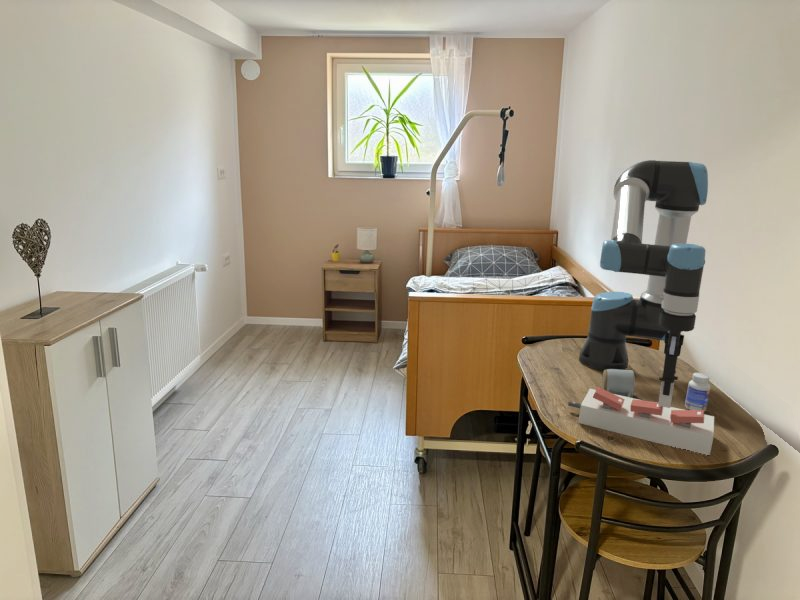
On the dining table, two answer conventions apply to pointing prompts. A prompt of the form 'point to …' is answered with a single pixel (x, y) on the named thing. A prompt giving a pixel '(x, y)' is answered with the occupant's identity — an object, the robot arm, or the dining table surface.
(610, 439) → the dining table surface
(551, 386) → the dining table surface
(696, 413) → the block
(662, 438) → the switch panel
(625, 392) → the ceramic mug
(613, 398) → the block
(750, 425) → the dining table surface
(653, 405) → the block
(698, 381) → the pill bottle
